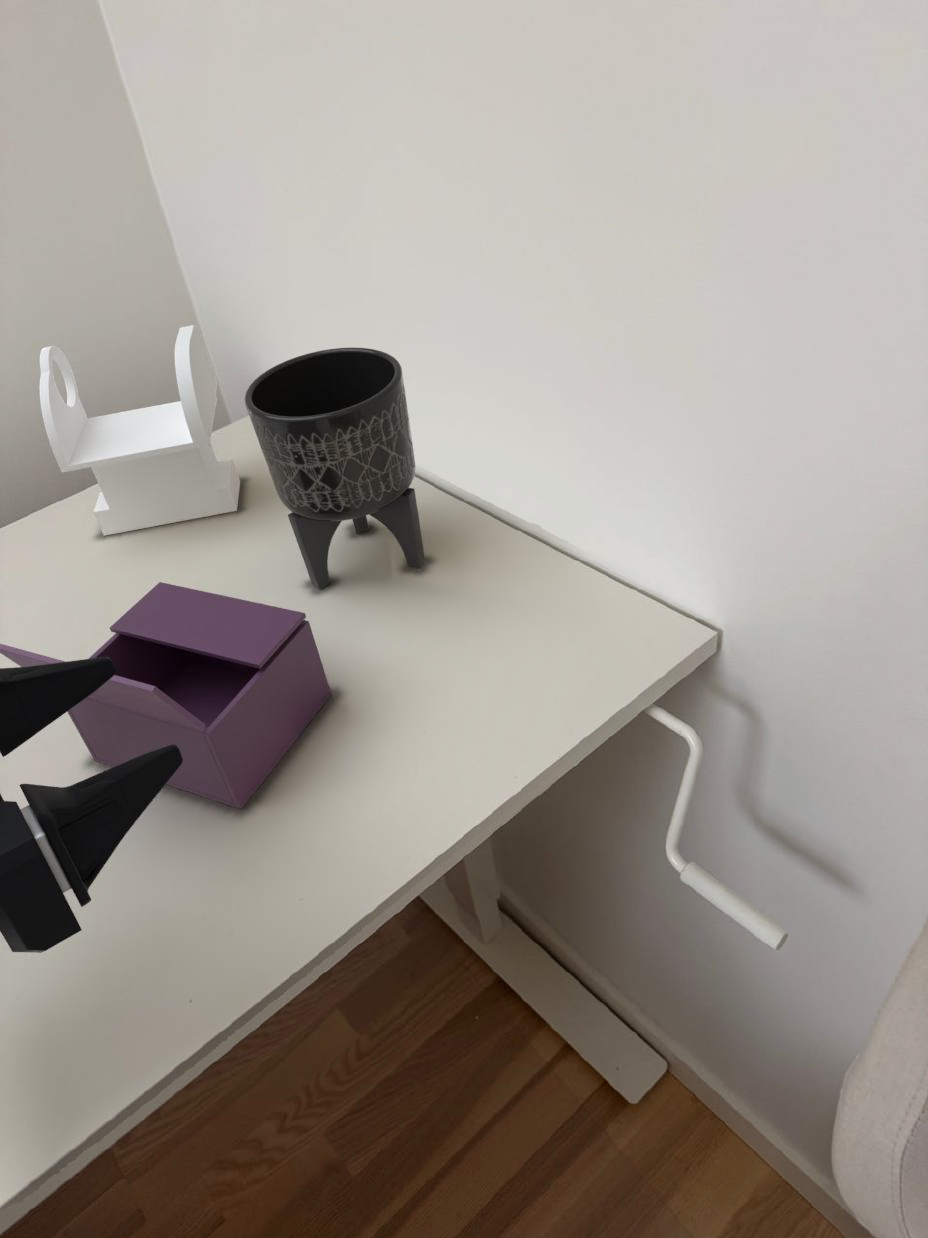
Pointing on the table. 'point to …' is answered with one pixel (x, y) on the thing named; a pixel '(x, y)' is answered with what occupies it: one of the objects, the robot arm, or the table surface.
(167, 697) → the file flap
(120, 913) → the table surface
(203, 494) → the tape dispenser
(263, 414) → the planter
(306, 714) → the box
